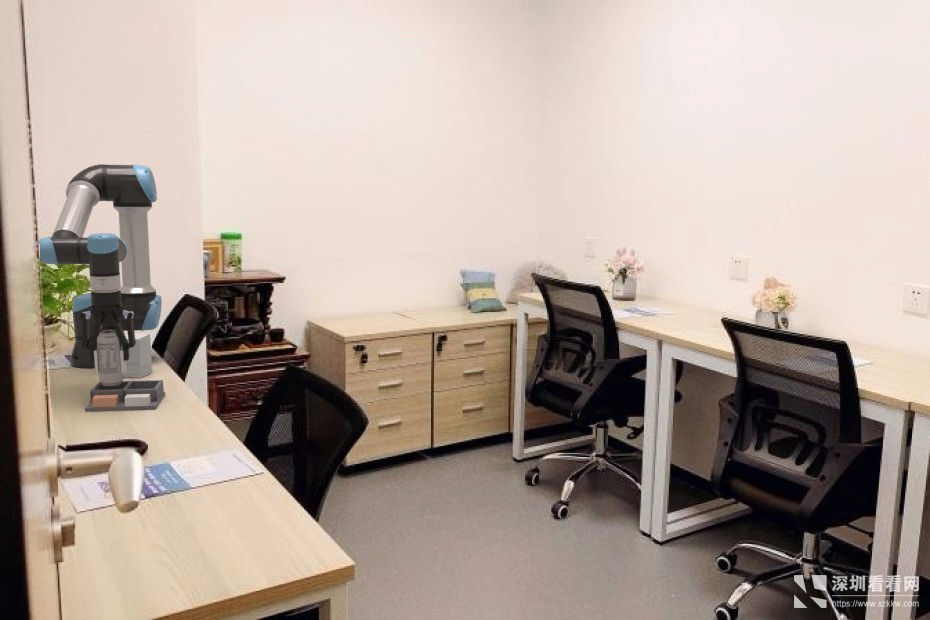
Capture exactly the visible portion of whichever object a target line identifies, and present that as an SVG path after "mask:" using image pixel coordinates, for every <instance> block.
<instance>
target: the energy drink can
mask: <svg viewBox="0 0 930 620" xmlns="http://www.w3.org/2000/svg"><path fill="white" fill-rule="evenodd" d="M97 348H98V364H99V373H98V374H99V375H98V377H99V382H101V383H102V385H103V386H115V385H119V384H121V381H124V377H123V373H121V362H120V350H121V343H120V341H119V338H118V336H117V333H116V331H115V330H102V331H100V332H99V335H98V337H97Z"/></svg>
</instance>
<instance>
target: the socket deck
mask: <svg viewBox="0 0 930 620" xmlns="http://www.w3.org/2000/svg"><path fill="white" fill-rule="evenodd" d="M89 393H90V394H89V396H90V402H89V403H88V404H87V405H86V406H85V407H84V411H85V412H108V411H109V412H110V411H111V412H112V411H114V412H115V411H116V412H117V411H142V410H143V411H145V410H147V411H149V410H157V408H158V407H159V406H160V404H159V403H162V401H161V400H163V399H164V398H165V397H166V391H164V380H162V379H161V380H159V379H157V380H155V379H154V380H153V379H152V380H148V379H147V380H123V381H121V384H119V385H115V386H103V385H102V383H101V382H100V381H98V382H97V383H96V385H94V386H93V388H92V389H90V391H89ZM163 397H164V398H163Z"/></svg>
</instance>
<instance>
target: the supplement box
mask: <svg viewBox="0 0 930 620" xmlns="http://www.w3.org/2000/svg"><path fill="white" fill-rule="evenodd" d="M125 336H126V339H127V341H128V343H129V340H128V333H126V334H125ZM135 340H136V345H135V346H134V347H132V348H129V360H128V361H126V371H125V373H123V378H134V379H135V378H137V379H142V378H144V377H146V376H148V375H149V374H152V373H153V364H152V362H153V361H152V360H153V359H152V349H151V348H152V347H151V343H152V342H151V334H150V333H135ZM121 349H122V346H121Z"/></svg>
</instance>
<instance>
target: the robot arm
mask: <svg viewBox="0 0 930 620" xmlns="http://www.w3.org/2000/svg"><path fill="white" fill-rule="evenodd" d="M65 195H66V199H65V202H64V204H63V208H62V209H61V212H60V214H59V217H58V220H57V222H56V226H55V228H54V230H53V233H52V235H51V236H46V237H41V238H39V240H38V242H39V244H40V258H41V261H40V262H41V263H42V264H44V265H55V266H58V265H88V270H89V283H90V285H89V287H90V290H91V292H87V293H84V294H79V295H78V296H75V297H74V298H73V301H72V316H73V317H72V318H73V319H72V320H73V328H74V329H73V330H74V345H73V347H72V350H71V354H70V365H71V366H73V367H75V368H80V369H81V368H83V369H93V368H94V371H95V374H96V375H97V374H99V364H98V348H97V337H98V335H99V332H100V331H102V330H115V331H116V333H117V336H118V338H119V341H120V343H121V346H122V349H121V350H120V362H121V373H125V371H126V361H128V360H129V348H132V347H134V346H135V345H136V340H135V334H136V333H135V332H136V331H141V332H144V331H154V330H155V329H157V327H158V326H159V324H160V319H161V313H162V296H161V295H160V294H157V290H156V288H155V287H154V286H153V285H152V283H151V264H150V242H149V239H150V238H149V223H148V222H149V221H148V217H149V216H148V212H149V211H150V210H151V209H152V208H153V203H155V202H157V200H158V193H157V184H156V181H155V177H154V174H153V171H152V170H151V167H149V166H145V165H138V164H104V163H101V164H95V165H91V166H88V167H86V168H84V169H83V170H81V171H79V172H78V173H76V174H75V175H74V176H73V177H72V178H71V180H70V181H69V183H68V185H66V189H65ZM99 202H112V204H113V209H115V210H116V211H117V212H118V221H119V222H118V224H119V225H118V226H119V237H118V235H117V234H115V233H111V232H110V233H109V232H108V233H107V232H106V233H105V232H103V233H102V232H101V233H97V232H96V233H91V234H89V235H88V236H87V237H84V234H85V231H86V228H87V225H88V224H89V223H88V222H89V220H90V217H91V215H92V211H93V209H94V207H96V206H97V205H98V204H99ZM120 262H121V263H120ZM120 264H121V271H120ZM120 272H121V273H120ZM121 279H122V282H121ZM121 283H122V284H121ZM125 332H127V334H128V340H129V343H128V341H127V339H126V336H125V335H126V334H125Z"/></svg>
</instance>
